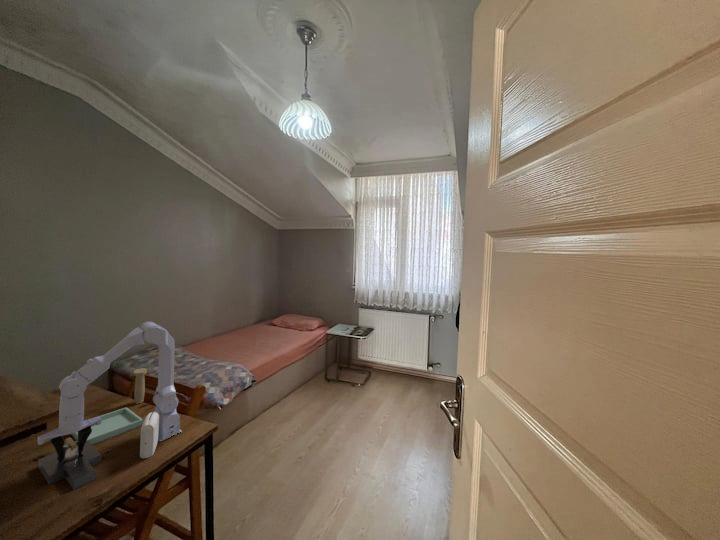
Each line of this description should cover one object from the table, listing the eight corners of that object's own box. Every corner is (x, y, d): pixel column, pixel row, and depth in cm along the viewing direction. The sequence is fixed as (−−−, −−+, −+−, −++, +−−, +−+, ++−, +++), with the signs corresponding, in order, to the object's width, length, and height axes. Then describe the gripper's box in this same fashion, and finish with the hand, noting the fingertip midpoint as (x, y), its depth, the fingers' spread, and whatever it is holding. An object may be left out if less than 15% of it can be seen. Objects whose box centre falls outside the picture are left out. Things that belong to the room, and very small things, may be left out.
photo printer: (153, 457, 100) (154, 421, 100) (138, 460, 98) (139, 424, 98) (159, 440, 109) (160, 407, 109) (145, 442, 108) (146, 409, 107)
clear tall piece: (81, 465, 95) (82, 441, 94) (64, 472, 91) (65, 448, 91) (75, 457, 98) (76, 435, 97) (58, 464, 94) (59, 440, 94)
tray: (142, 425, 118) (143, 419, 118) (83, 448, 102) (83, 441, 102) (126, 412, 126) (126, 407, 126) (69, 432, 111) (69, 425, 111)
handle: (146, 398, 139) (147, 367, 139) (144, 404, 134) (145, 372, 133) (133, 400, 137) (135, 368, 136) (131, 406, 131) (132, 373, 131)
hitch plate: (110, 472, 92) (110, 464, 92) (56, 497, 82) (56, 488, 82) (88, 448, 103) (88, 441, 103) (38, 467, 92) (38, 459, 92)
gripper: (96, 401, 102) (95, 439, 103) (35, 419, 90) (34, 462, 90) (104, 407, 98) (102, 447, 99) (41, 426, 86) (40, 471, 87)
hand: (70, 455), depth 94 cm, fingers closed on clear tall piece, 4 cm apart
